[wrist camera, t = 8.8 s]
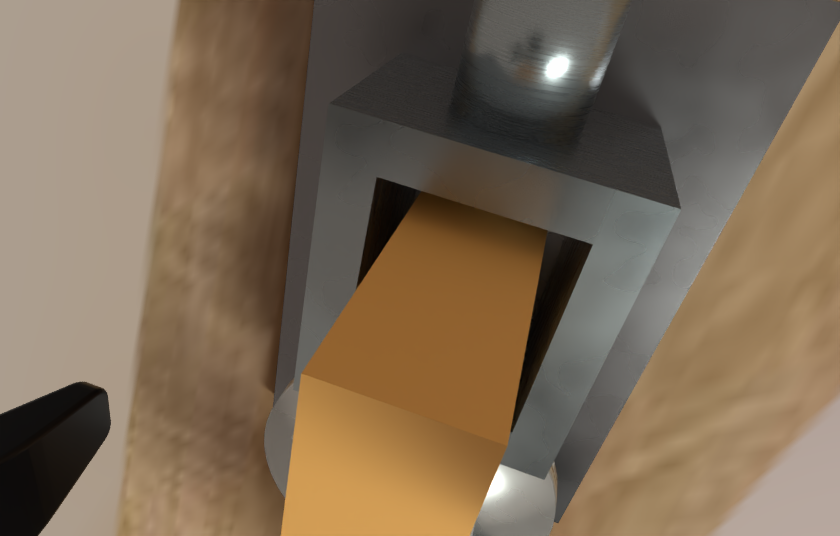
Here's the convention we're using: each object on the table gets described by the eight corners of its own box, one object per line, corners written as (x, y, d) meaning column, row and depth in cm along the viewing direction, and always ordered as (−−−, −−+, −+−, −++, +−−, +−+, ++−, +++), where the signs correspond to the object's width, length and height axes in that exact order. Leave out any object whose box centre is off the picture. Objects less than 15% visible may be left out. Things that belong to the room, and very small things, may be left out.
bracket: (834, -2, 14) (962, 50, 9) (554, 511, 24) (541, 664, 19) (342, -127, 15) (212, -144, 10) (281, 411, 26) (203, 532, 21)
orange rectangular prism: (558, 174, 16) (507, 446, 8) (516, 291, 19) (442, 599, 10) (452, 143, 17) (301, 373, 8) (423, 261, 19) (280, 537, 11)
